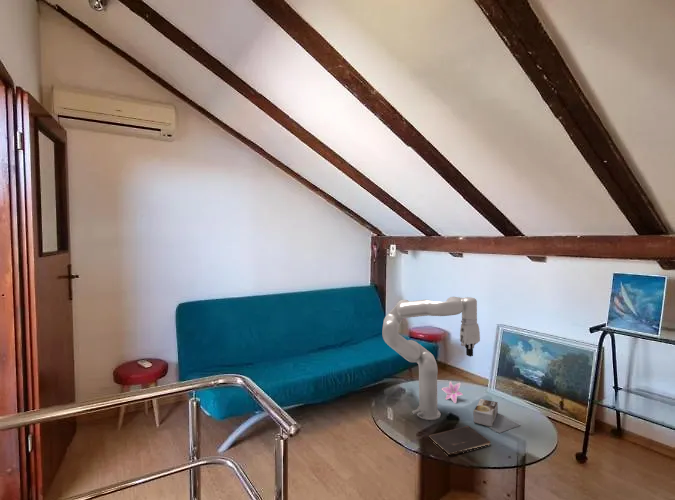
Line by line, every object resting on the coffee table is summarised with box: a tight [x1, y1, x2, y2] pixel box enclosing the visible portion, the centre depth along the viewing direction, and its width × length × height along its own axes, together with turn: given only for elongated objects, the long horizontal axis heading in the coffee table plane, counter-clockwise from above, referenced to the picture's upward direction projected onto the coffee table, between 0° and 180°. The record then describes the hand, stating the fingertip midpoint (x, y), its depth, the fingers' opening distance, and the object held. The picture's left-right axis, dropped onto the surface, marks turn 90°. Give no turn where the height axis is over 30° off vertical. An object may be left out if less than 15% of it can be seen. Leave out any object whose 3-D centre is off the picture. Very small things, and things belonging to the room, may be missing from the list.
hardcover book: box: [427, 425, 491, 454], centre depth 178 cm, size 16×23×2 cm
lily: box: [441, 381, 464, 404], centre depth 222 cm, size 12×12×10 cm
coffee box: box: [472, 398, 499, 427], centre depth 198 cm, size 9×6×16 cm
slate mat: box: [484, 412, 522, 434], centre depth 194 cm, size 15×14×1 cm
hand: (469, 355), depth 199 cm, fingers closed
